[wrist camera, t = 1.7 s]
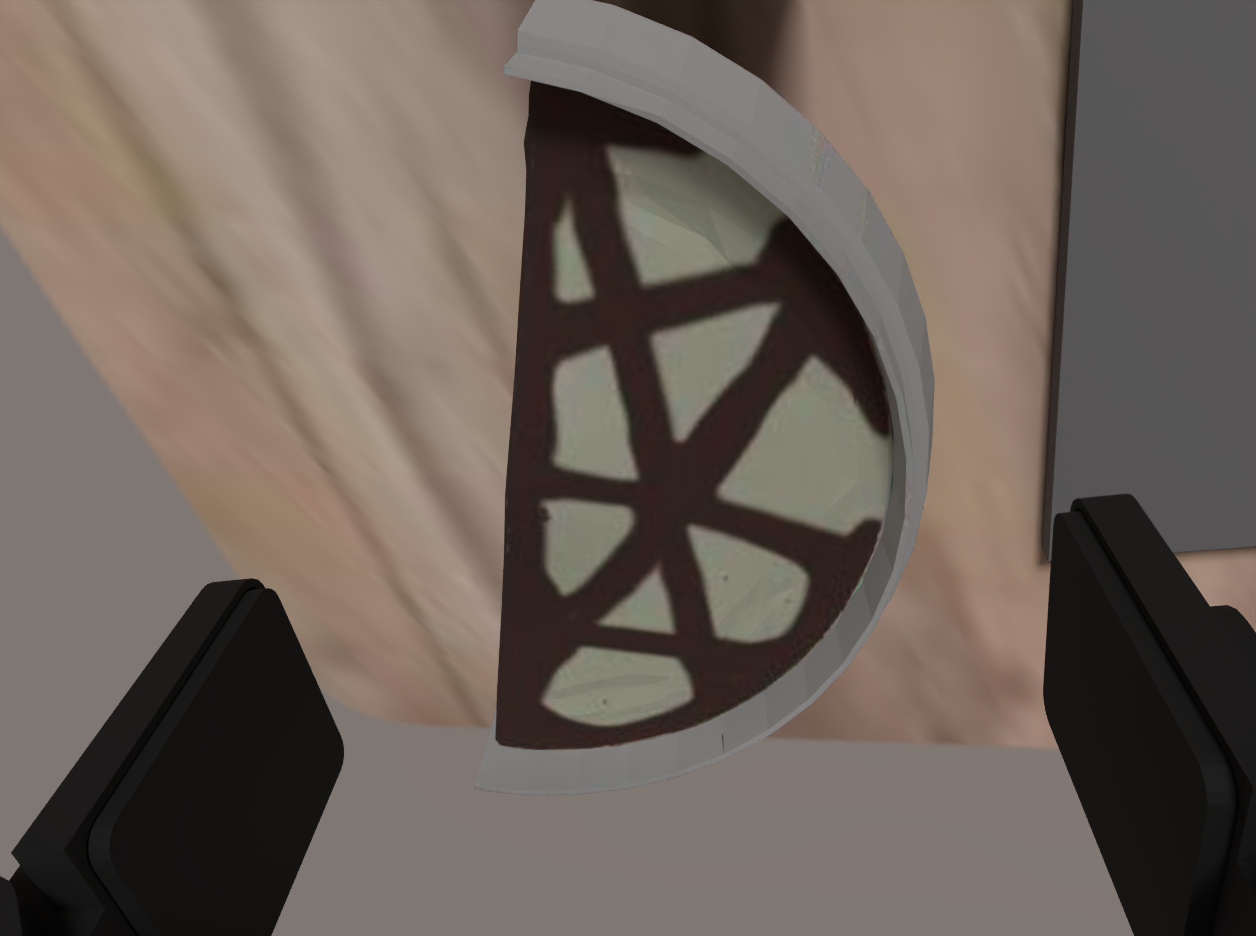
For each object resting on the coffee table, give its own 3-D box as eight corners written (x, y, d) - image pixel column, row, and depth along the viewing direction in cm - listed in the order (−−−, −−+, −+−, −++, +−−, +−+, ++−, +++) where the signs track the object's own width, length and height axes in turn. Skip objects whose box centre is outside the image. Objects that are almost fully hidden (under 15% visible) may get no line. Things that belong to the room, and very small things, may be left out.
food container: (804, 525, 25) (837, 869, 16) (565, 489, 25) (473, 811, 16) (942, -11, 18) (1121, 93, 10) (615, -54, 18) (506, 9, 10)
